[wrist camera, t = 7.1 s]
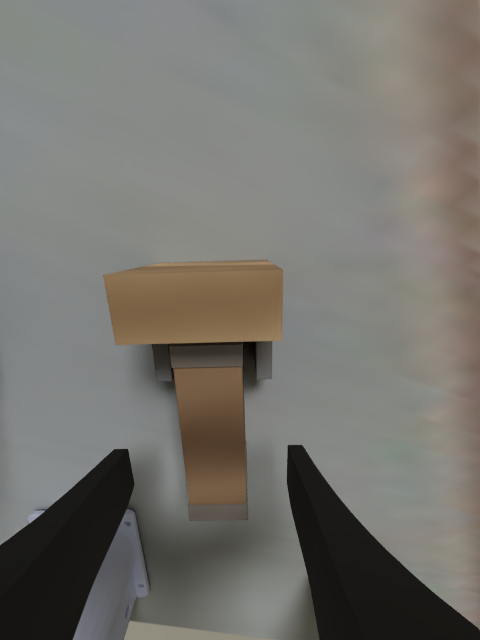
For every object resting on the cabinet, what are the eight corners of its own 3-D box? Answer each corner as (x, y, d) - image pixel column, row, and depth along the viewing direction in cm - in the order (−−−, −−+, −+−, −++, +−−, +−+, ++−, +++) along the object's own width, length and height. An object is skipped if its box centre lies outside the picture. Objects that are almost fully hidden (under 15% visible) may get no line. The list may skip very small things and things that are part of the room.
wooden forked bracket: (267, 358, 16) (281, 423, 10) (170, 360, 16) (128, 426, 10) (267, 259, 14) (284, 269, 8) (158, 263, 14) (101, 275, 8)
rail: (190, 317, 15) (169, 346, 11) (242, 315, 15) (242, 344, 11) (202, 453, 18) (189, 520, 14) (246, 452, 18) (247, 520, 13)
